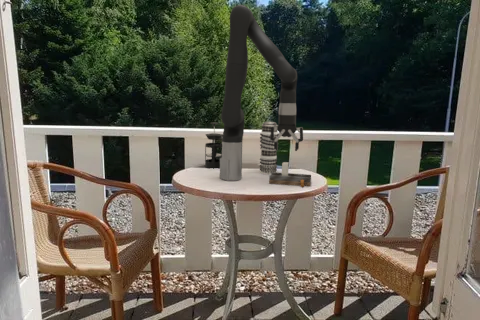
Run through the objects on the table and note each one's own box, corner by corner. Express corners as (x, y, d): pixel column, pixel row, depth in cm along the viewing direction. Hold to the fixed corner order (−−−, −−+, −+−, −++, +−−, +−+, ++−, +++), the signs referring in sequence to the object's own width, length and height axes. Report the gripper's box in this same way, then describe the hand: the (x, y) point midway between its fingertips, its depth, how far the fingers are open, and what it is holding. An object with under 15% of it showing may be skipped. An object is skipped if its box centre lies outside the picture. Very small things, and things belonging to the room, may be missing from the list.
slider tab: (278, 179, 186) (279, 163, 184) (279, 176, 190) (280, 161, 189) (290, 179, 185) (290, 164, 184) (290, 177, 189) (291, 162, 188)
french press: (202, 168, 213) (202, 123, 208) (204, 164, 222) (204, 121, 218) (225, 169, 213) (226, 123, 208) (226, 165, 222) (227, 122, 218)
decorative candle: (276, 175, 202) (279, 123, 197) (257, 174, 203) (259, 122, 198) (278, 171, 210) (280, 121, 206) (259, 170, 212) (261, 120, 207)
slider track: (268, 184, 183) (268, 176, 182) (271, 179, 193) (271, 171, 193) (310, 187, 179) (310, 179, 179) (310, 181, 190) (311, 174, 189)
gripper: (304, 113, 184) (302, 149, 187) (272, 112, 187) (271, 148, 190) (303, 114, 177) (302, 152, 180) (270, 113, 180) (269, 151, 183)
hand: (286, 150), depth 185 cm, fingers open, 8 cm apart
